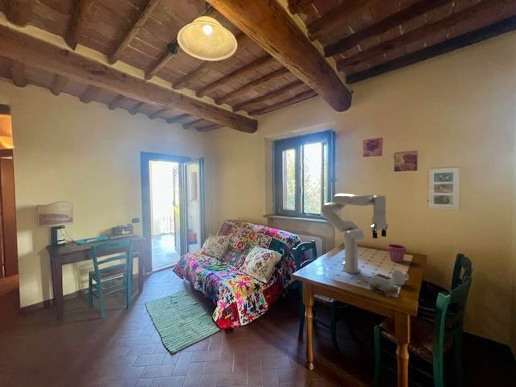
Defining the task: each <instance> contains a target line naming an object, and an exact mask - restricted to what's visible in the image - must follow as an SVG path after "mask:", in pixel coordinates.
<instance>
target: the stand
mask: <svg viewBox="0 0 516 387" xmlns="http://www.w3.org/2000/svg"><path fill="white" fill-rule="evenodd" d="M369 288H370V289H369V290H370V291H376V290H381V291H383V292H384V296H385V297H387V298H390V297H392V296H394V295H396V294H399V292H398V291H399V287H398V286H397V285H394V287H392V288H390V289H387V288H385V287H383V286H380V285H378V284H375V283H373V281H372V282H371V283H369Z"/></svg>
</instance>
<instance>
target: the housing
mask: <svg viewBox="0 0 516 387" xmlns="http://www.w3.org/2000/svg"><path fill="white" fill-rule="evenodd" d="M372 279H373V280H372V282H373V283H375V284H378V285H380V286H383V287H385V288H387V289H390V288H392V287H394V286H395V284H394V278H392V276H391V277H390V276H387V275H385V274H382V273H379V272H378V273H376V274H373V275H372Z"/></svg>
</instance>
